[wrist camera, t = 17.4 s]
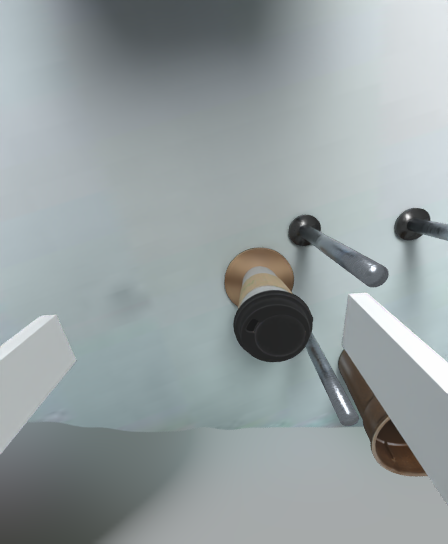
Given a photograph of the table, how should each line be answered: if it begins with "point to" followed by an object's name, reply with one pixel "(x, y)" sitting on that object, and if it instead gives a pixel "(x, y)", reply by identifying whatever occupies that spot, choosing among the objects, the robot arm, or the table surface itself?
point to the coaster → (253, 259)
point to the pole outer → (419, 225)
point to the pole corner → (337, 251)
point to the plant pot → (379, 424)
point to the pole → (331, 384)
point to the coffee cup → (271, 317)
